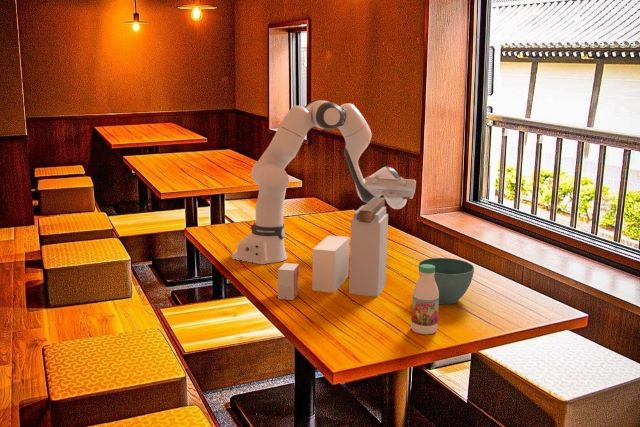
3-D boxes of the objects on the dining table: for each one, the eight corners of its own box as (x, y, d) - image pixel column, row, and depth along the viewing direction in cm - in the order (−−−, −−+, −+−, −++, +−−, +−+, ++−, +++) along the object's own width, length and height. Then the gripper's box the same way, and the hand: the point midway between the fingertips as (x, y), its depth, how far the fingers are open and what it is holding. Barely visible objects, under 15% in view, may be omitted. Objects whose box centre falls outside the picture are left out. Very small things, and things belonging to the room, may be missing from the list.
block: (312, 290, 230) (312, 249, 227) (327, 273, 249) (328, 235, 246) (334, 292, 228) (335, 251, 225) (348, 275, 247) (349, 237, 243)
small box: (293, 300, 220) (293, 270, 218) (277, 299, 221) (277, 269, 219) (299, 292, 228) (299, 263, 225) (283, 291, 229) (283, 262, 226)
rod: (358, 221, 220) (359, 210, 219) (373, 207, 242) (374, 197, 241) (370, 222, 218) (370, 211, 218) (384, 208, 241) (384, 197, 240)
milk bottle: (408, 325, 200) (411, 262, 196) (433, 324, 201) (437, 261, 197) (414, 335, 193) (417, 270, 189) (440, 334, 194) (443, 269, 189)
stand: (349, 293, 227) (351, 213, 221) (358, 281, 241) (360, 204, 234) (377, 296, 225) (380, 215, 218) (385, 284, 238) (388, 207, 232)
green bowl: (460, 314, 210) (462, 277, 208) (408, 302, 220) (409, 267, 217) (479, 297, 225) (481, 263, 223) (429, 287, 235) (431, 254, 232)
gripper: (368, 180, 271) (362, 168, 258) (418, 183, 265) (414, 171, 252) (366, 195, 269) (360, 183, 256) (416, 198, 263) (412, 187, 250)
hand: (387, 177), depth 254 cm, fingers open, 8 cm apart
